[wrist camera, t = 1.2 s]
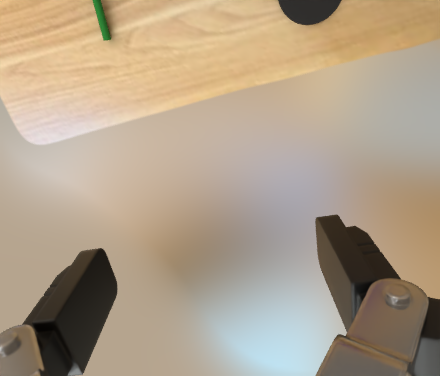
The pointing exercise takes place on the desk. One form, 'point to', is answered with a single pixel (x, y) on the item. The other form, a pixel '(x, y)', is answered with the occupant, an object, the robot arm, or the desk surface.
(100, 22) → the decorative flower
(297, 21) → the coaster
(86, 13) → the desk surface
